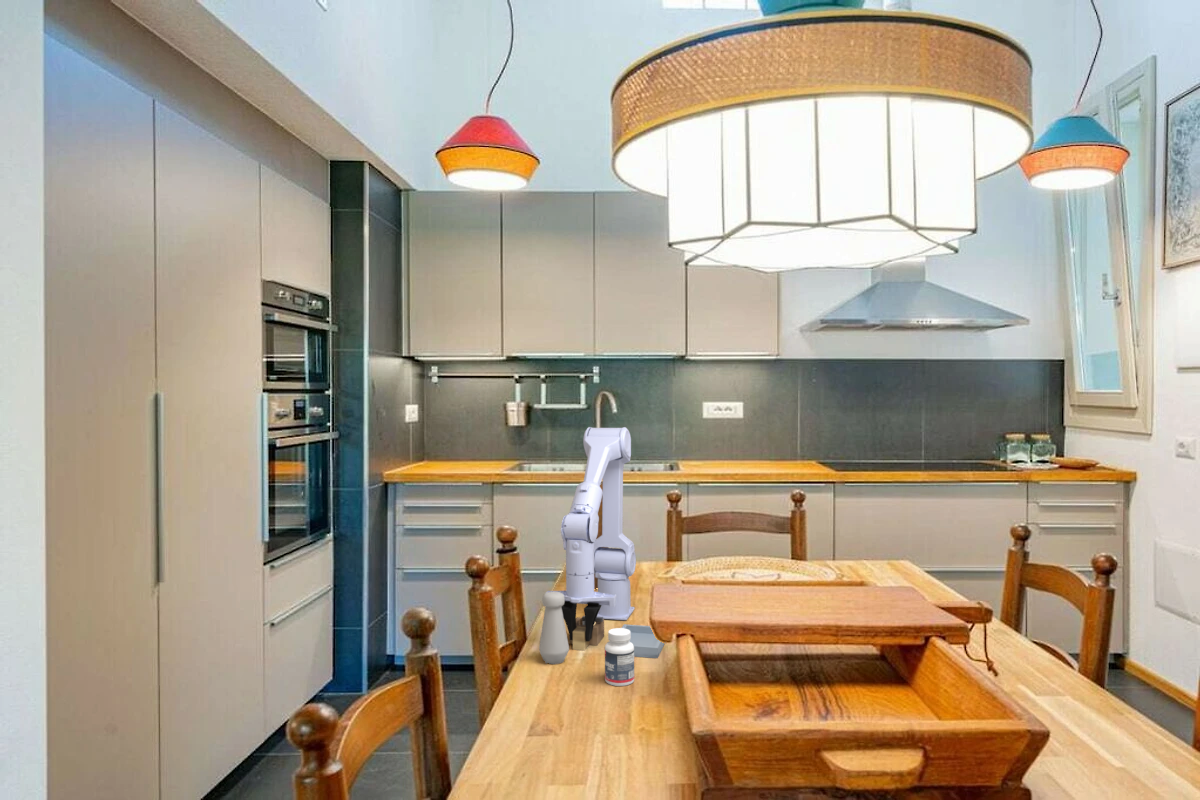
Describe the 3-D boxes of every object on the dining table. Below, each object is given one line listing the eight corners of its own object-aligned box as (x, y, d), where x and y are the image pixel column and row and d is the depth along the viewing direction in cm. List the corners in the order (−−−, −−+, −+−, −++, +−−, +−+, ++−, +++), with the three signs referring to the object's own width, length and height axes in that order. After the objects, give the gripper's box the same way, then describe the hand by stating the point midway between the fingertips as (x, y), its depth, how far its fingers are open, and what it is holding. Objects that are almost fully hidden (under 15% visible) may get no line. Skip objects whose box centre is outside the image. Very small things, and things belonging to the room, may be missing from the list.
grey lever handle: (582, 637, 152) (582, 614, 152) (604, 638, 151) (604, 615, 151) (579, 641, 150) (579, 618, 150) (601, 642, 149) (600, 619, 149)
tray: (624, 633, 154) (624, 624, 154) (668, 636, 152) (667, 627, 152) (610, 654, 142) (609, 644, 142) (657, 658, 140) (657, 648, 139)
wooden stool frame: (577, 634, 154) (577, 617, 154) (604, 636, 153) (604, 619, 153) (564, 648, 145) (564, 631, 145) (593, 651, 144) (592, 633, 144)
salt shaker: (571, 655, 141) (570, 589, 141) (567, 666, 136) (566, 597, 136) (541, 654, 142) (541, 588, 142) (536, 665, 136) (535, 596, 136)
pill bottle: (600, 677, 130) (600, 628, 130) (627, 673, 132) (627, 625, 132) (611, 688, 125) (610, 637, 125) (639, 684, 127) (638, 633, 127)
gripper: (539, 575, 144) (540, 643, 144) (610, 578, 141) (610, 648, 141) (550, 567, 151) (551, 631, 151) (618, 570, 147) (618, 636, 147)
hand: (580, 639), depth 146 cm, fingers open, 3 cm apart
